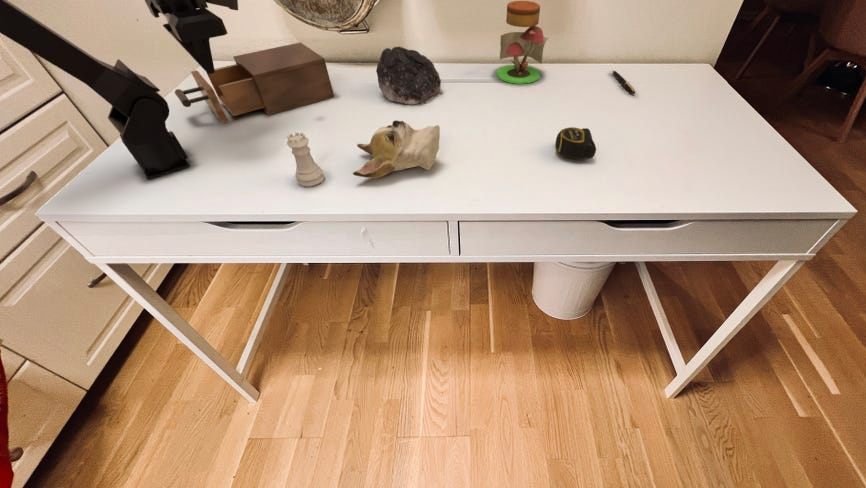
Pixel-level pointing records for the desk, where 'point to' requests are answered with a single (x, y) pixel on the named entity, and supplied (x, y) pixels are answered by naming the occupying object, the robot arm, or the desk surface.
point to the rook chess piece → (304, 161)
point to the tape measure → (575, 143)
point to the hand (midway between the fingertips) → (211, 72)
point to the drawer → (225, 91)
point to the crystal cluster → (407, 76)
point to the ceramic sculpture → (399, 149)
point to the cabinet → (288, 76)
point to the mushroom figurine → (522, 43)
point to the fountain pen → (624, 82)
